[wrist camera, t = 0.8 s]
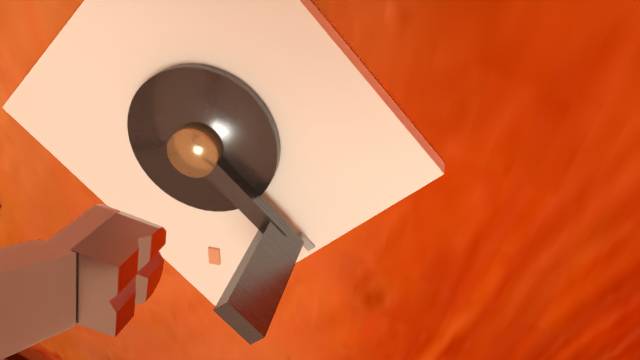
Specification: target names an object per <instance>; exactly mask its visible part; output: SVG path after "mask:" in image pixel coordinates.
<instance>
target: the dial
mask: <svg viewBox="0 0 640 360" xmlns="http://www.w3.org/2000/svg"><path fill="white" fill-rule="evenodd" d="M127 128H128V136H129V141H130V144H131V147H132V150H133V153H134V155H135V157H136V159H137V161H138V163H139V164H140V166H141V168H142V169H143V170H144V172H145V173H146V174H147V176H148V177H149V178H150V179H151V180H152V181H153V182H154V183H155V184H156V185H157V186H158V187H159V188H160V189H161V190H162V191H164V192H165V193H166V194H168V195H169V196H171V197H172V198H174V199H176V200H177V201H179V202H181V203H184V204H186V205H188V206H191V207H194V208H197V209H201V210H205V211H214V212H224V211H232V210H236V209H239V210H240V211H241V212H242V213H243V214H244V215H245V216H246V217H247V218H248V219H249V220H250V221H251V222H252V223H253V224H254V225H255V226H256V227H257V228H258V231H257V233H256V235H255V237H254V238H253V240H252V242H251V244H250V246H249V247H248V249H247V251H246V253H245V254H244V256H243V258H242V260H241V262H240V263H239V265H238V267H237V269H236V271H235V272H234V274H233V276H232V278H231V280H230V281H229V283H228V285H227V287H226V288H225V290H224V292H223V294H222V296H221V297H220V299H219V301H218V303H217V305H216V306H215V308H214V310H213V311H215V312H216V313H217V314H218V315H219V316H220V317H221V318H222V319H223V320H224V321H225V322H226V323H227V324H229V325H230V326H231V327H232V328H233V329H234V330H235V331H236V332H237V333H238V334H239V335H240V336H242V337H243V338H244V339H245V340H246V341H247V342H248V343H249V344H250V345H251V344H253V343H255V342H257V341H258V340H260V339H262V338H264V337H265V335H266V333H267V330H268V328H269V325H270V323H271V321H272V318H273V316H274V313H275V311H276V309H277V306H278V304H279V301H280V299H281V297H282V294H283V292H284V289H285V287H286V285H287V282H288V280H289V277H290V275H291V273H292V270H293V268H294V265H295V263H296V261H297V258H298V256H299V253H300V251H301V249H302V246H303V244H304V241H303V240H302V239H301V238H300V237H299V236H298V235H297V234H296V233H295V232H294V231H293V230H292V229H291V228H290V227H291V226H290V225H289V224H288V223H287V222H286V221H285V220H284V219H283V218H282V217H281V216H280V215H279V214H278V213H277V212H276V211H275V210H274V209H273V208H272V207H271V206H270V205H269V204H268V203H267V202H266V201H265V199H264V198H263V197H262V196H261V195H262V194H263V193H264V191H265V190H266V189H267V187H268V186H269V184H270V182H271V181H272V179H273V177H274V176H275V173H276V171H277V169H278V165H279V160H280V139H279V134H278V130H277V127H276V124H275V121H274V119H273V117H272V115H271V113H270V111H269V110H268V108H267V107H266V105H265V103H264V102H263V101H262V100H261V98H260V97H259V96H258V95H257V94H256V93H255V92H254V91H253V90H252V89H251V88H250V87H249V86H248V85H247V84H245V83H244V82H243V81H241V80H240V79H238V78H237V77H235V76H234V75H232V74H230V73H228V72H226V71H224V70H221V69H218V68H215V67H212V66H208V65H203V64H191V63H190V64H180V65H175V66H171V67H169V68H166V69H164V70H162V71H160V72H159V73H157V74H155V75H154V76H152V77H151V78H149V79H148V80H147V81H146V82H145V83H144V84H142V85H141V87H140V88H139V89H138V90H137V92H136V93H135V95H134V97H133V99H132V101H131V104H130V107H129V112H128V119H127Z"/></svg>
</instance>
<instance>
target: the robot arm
mask: <svg viewBox="0 0 640 360" xmlns="http://www.w3.org/2000/svg"><path fill="white" fill-rule="evenodd" d="M165 244H166V230H165V229H164V227H162V226H159V225H157V224H154V223H151V222H149V221H146V220H144V219H141V218H138V217H136V216H133V215H131V214H128V213H125V212H123V211H122V212H121V211H119V210H117V209H114V208H111V207H109V206H106V205H103V204H97V205H94V206H93V207H91V208H90V209H89V210H87V211H86V212H85V213H83V214H82V215H81V216H79V217H78V218H77V219H75V220H74V221H72V222H71V223H70V224H68V225H67V226H66V227H64V228H63V229H62V230H60V231H59V232H58V233H56V234H55V235H54V236H52V237H51V238H50V239H48V240H47V241H43V240H40V239H38V240H33V241H28V242H24V243H19V244H15V245H10V246H5V247H1V248H0V360H2V359H4V358H6V357H8V356H10V355H13V354H15V353H17V352H19V351H22V350H24V349H26V348H28V347H30V346H33V345H35V344H37V343H39V342H42V341H44V340H46V339H48V338H50V337H53V336H55V335H57V334H59V333H61V332H64V331H66V330H68V329H70V328H73V327H75V326H76V324H79V325H81V326H84V327H87V328H90V329H93V330H96V331H98V332H101V333H104V334H107V335H110V336H113V337H116V336H117V334H118V333H119V332H120V331H121V330H122V329H123V328H124V326H125V325H126V324H127V323H128V322H129V321H130V319H131V318H132V317H133V316H134V308H135V305H137V304H140V303H143V302H146V301H147V299H148V298H149V297H150V296H151V294H152V293H153V292H154V290H155V288H156V286H157V284H158V282H159V280H160V277H161V274H162V270H163V263H164V260H163V258H162V256H161V254H160V252H159V250H160V249H161V248H162V247H163V246H164V245H165Z"/></svg>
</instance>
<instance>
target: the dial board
mask: <svg viewBox="0 0 640 360" xmlns="http://www.w3.org/2000/svg"><path fill="white" fill-rule="evenodd" d="M190 63H191V64H203V65H208V66H212V67H215V68H218V69H221V70H224V71H226V72H228V73H230V74H232V75H234V76H235V77H237V78H238V79H240V80H241V81H243V82H244V83H245V84H247V85H248V86H249V87H250V88H251V89H252V90H253V91H254V92H255V93H256V94H257V95H258V96H259V97H260V98H261V100H262V101H263V102H264V103H265V105H266V107H267V108H268V110H269V111H270V113H271V115H272V117H273V119H274V121H275V124H276V127H277V130H278V134H279V139H280V160H279V165H278V169H277V171H276V173H275V176H274V177H273V179H272V181H271V182H270V184H269V186H268V187H267V189H266V190H265V191H264V193H263V194H262V195H261V196H262V197H263V198H264V199H265V201H266V202H267V203H268V204H269V205H270V206H271V207H272V208H273V209H274V210H275V211H276V212H277V213H278V214H279V215H280V216H281V217H282V218H283V219H284V220H285V221H286V222H287V223H288V224H289V225H290V226H291V227H290V228H291V229H292V230H293V231H294V232H295V233H296V234H297V235H298V236H299V237H300V238H301V239H302V240H303V241H304V244H303V246H302V249H301V251H300V253H299V256H298V258H297V261H296V263H297V262H298V261H300V260H302V259H303V258H305V257H307V256H308V255H310V254H312V253H313V252H315V251H317V250H318V249H320V248H322V247H323V246H325V245H327V244H328V243H330V242H332V241H333V240H335V239H337V238H338V237H340V236H342V235H343V234H345V233H347V232H348V231H350V230H352V229H353V228H355V227H357V226H358V225H360V224H362V223H363V222H365V221H367V220H368V219H370V218H372V217H373V216H375V215H377V214H378V213H380V212H382V211H383V210H385V209H387V208H388V207H390V206H392V205H393V204H395V203H397V202H398V201H400V200H402V199H403V198H405V197H407V196H408V195H410V194H412V193H413V192H415V191H417V190H418V189H420V188H422V187H423V186H425V185H427V184H428V183H430V182H432V181H433V180H435V179H437V178H438V177H440V176H442V175H443V174H444V165H445V163H444V162H443V160H442V159H441V158H440V157H439V155H438V154H437V153H436V152H435V151H434V149H433V148H432V147H431V146H430V145H429V143H428V142H427V141H426V140H425V139H424V137H423V136H422V135H421V134H420V132H419V131H418V130H417V129H416V128H415V126H414V125H413V124H412V123H411V122H410V120H409V119H408V118H407V117H406V116H405V114H404V113H403V112H402V111H401V109H400V108H399V107H398V106H397V105H396V103H395V102H394V101H393V100H392V99H391V97H390V96H389V95H388V94H387V92H386V91H385V90H384V89H383V88H382V86H381V85H380V84H379V83H378V82H377V80H376V79H375V78H374V77H373V76H372V74H371V73H370V72H369V71H368V69H367V68H366V67H365V66H364V65H363V63H362V62H361V61H360V60H359V59H358V57H357V56H356V55H355V54H354V53H353V51H352V50H351V49H350V48H349V46H348V45H347V44H346V43H345V42H344V40H343V39H342V38H341V37H340V36H339V34H338V33H337V32H336V31H335V30H334V28H333V27H332V26H331V25H330V23H329V22H328V21H327V20H326V19H325V17H324V16H323V15H322V14H321V13H320V11H319V10H318V9H317V8H316V6H315V5H314V4H313V3H312V2H311V0H84V2H83V3H82V4H81V6H80V7H79V8H78V9H77V11H76V12H75V13H74V15H73V16H72V17H71V19H70V20H69V21H68V22H67V24H66V25H65V26H64V28H63V29H62V30H61V32H60V33H59V34H58V35H57V37H56V38H55V39H54V41H53V42H52V43H51V45H50V46H49V47H48V49H47V50H46V51H45V52H44V54H43V55H42V56H41V58H40V59H39V60H38V62H37V63H36V64H35V65H34V67H33V68H32V69H31V71H30V72H29V73H28V75H27V76H26V77H25V78H24V80H23V81H22V82H21V84H20V85H19V86H18V88H17V89H16V90H15V92H14V93H13V94H12V95H11V97H10V98H9V99H8V101H7V102H6V103H5V105H4V106H3V107H2V108H3V109H4V110H5V111H6V112H8V113H9V114H10V115H11V116H12V117H13V118H14V119H15V120H16V121H17V122H18V123H19V124H20V125H22V126H23V127H24V128H25V129H26V130H27V131H28V132H29V133H30V134H31V135H32V136H33V137H34V138H35V139H37V140H38V141H39V142H40V143H41V144H42V145H43V146H44V147H45V148H46V149H47V150H48V151H49V152H51V153H52V154H53V155H54V156H55V157H56V158H57V159H58V160H59V161H60V162H61V163H62V164H63V165H64V166H66V167H67V168H68V169H69V170H70V171H71V172H72V173H73V174H74V175H75V176H76V177H77V178H78V179H80V180H81V181H82V182H83V183H84V184H85V185H86V186H87V187H88V188H89V189H90V190H91V191H92V192H93V193H95V194H96V195H97V196H98V197H99V198H100V199H101V200H102V201H103V202H104V203H105V204H106V205H107V206H109V207H111V208H114V209H117V210H119V211H121V212H122V211H123V212H125V213H128V214H131V215H133V216H136V217H138V218H141V219H144V220H146V221H149V222H151V223H154V224H157V225H159V226H162V227H164V229H165V230H166V244H165V245H164V246H163V247H162V248H161V249H160V250H159V252H160V254H161V256H162V257H163V258H164V259H165V260H166V261H168V262H169V263H170V264H171V265H172V266H173V267H174V268H175V269H176V270H177V271H178V272H179V273H180V274H182V275H183V276H184V277H185V278H186V279H187V280H188V281H189V282H190V283H191V284H192V285H193V286H194V287H195V288H197V289H198V290H199V291H200V292H201V293H202V294H203V295H204V296H205V297H206V298H207V299H208V300H209V301H211V302H212V303H213V304H214V305H215V306H216V305H217V303H218V301H219V299H220V297H221V296H222V294H223V292H224V290H225V288H226V287H227V285H228V283H229V281H230V280H231V278H232V276H233V274H234V272H235V271H236V269H237V267H238V265H239V263H240V262H241V260H242V258H243V256H244V254H245V253H246V251H247V249H248V247H249V246H250V244H251V242H252V240H253V238H254V237H255V235H256V233H257V231H258V228H257V227H256V226H255V225H254V224H253V223H252V222H251V221H250V220H249V219H248V218H247V217H246V216H245V215H244V214H243V213H242V212H241V211H240V210H239V209H236V210H232V211H224V212H214V211H205V210H201V209H197V208H194V207H191V206H188V205H186V204H184V203H181V202H179V201H177V200H176V199H174V198H172V197H171V196H169V195H168V194H166V193H165V192H164V191H162V190H161V189H160V188H159V187H158V186H157V185H156V184H155V183H154V182H153V181H152V180H151V179H150V178H149V177H148V176H147V174H146V173H145V172H144V170H143V169H142V168H141V166H140V164H139V163H138V161H137V159H136V157H135V155H134V153H133V150H132V147H131V144H130V141H129V136H128V128H127V119H128V112H129V107H130V104H131V101H132V99H133V97H134V95H135V93H136V92H137V90H138V89H139V88H140V87H141V85H142V84H144V83H145V82H146V81H147V80H148V79H149V78H151V77H152V76H154V75H155V74H157V73H159V72H160V71H162V70H164V69H166V68H169V67H171V66H175V65H180V64H190Z"/></svg>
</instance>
